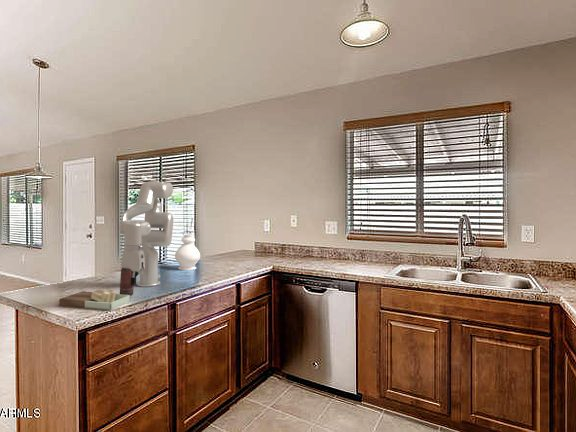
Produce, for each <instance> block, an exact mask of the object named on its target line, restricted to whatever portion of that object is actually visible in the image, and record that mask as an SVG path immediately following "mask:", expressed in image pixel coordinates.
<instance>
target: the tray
mask: <svg viewBox="0 0 576 432" xmlns="http://www.w3.org/2000/svg"><path fill="white" fill-rule="evenodd" d="M129 302H131V296H130V295H122V294H120V293H119V294H118V293H116V295H115V299H114V302H112V303H106V302H99V301H98V302H94V301H85V308H84V309H91V310H92V309H94V310H104V311H113V310H115V309H117V308H119V307H121V306H123V305H125V304H127V303H129Z"/></svg>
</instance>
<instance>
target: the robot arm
mask: <svg viewBox="0 0 576 432" xmlns="http://www.w3.org/2000/svg"><path fill="white" fill-rule="evenodd" d="M173 192H174V187H173V184H172V183H171V182H167V181H166V182H165V181H145V182H143V183H142V184H141V186H140V189H139V192H138V196H137V199H136V203H134V204H133V205H132V206H130V207H129V208H128V209H126V210H125V211H124V213H123V214H122V217H121V219H120V223H119V232H120V234H121V235H123V236H124V248H123V249H124V250H123V251H122V255H121V261H120V262H121V263H120V265H121V267H120V268H121V269H126V270H128V269H131V271H133V273H132V278H131V286H133V285H134V286H138V287H146V288H148V287H156V286H159V285H161V281H160V280H158V279H160V278H161V275H160V274H159V273H158V271H159V253H158V251H157V249H156V247H162V248H163V247H169V246H171V244H172V240H173V239H172V238H173V229H174V216H173V214H172V213H170V212H168V211H167V212H166V211H165V212H164V211H163V212H162V208H163V205H162V202H161V201H160V199H168V198H170V197H172V195H173ZM140 215H144V220H132V219H134V218H135V217H137V216H140ZM121 269H120V270H121ZM138 276H139V281H137V277H138Z"/></svg>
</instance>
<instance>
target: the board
mask: <svg viewBox="0 0 576 432" xmlns="http://www.w3.org/2000/svg"><path fill="white" fill-rule="evenodd" d="M92 292H93V291H84V290H83V291H80V292H77V293H73V294H70V295H67V296H64V297H61V298H59V300H58V306H59V307H71V308H79V309H80V308H82V309H86V308H85V301H94V302H98V301H96V300H94V299H91V295H92Z"/></svg>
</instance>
